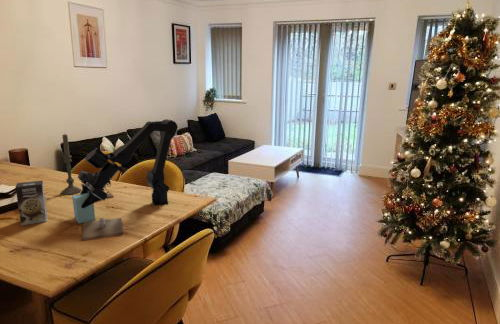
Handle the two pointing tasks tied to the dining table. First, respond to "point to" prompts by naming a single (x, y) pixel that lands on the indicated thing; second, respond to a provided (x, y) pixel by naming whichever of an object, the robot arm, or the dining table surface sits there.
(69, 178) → the candlestick holder
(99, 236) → the post board
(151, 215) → the dining table surface
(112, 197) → the brown scrollwork stand
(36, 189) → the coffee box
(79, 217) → the light blue rectangular block
